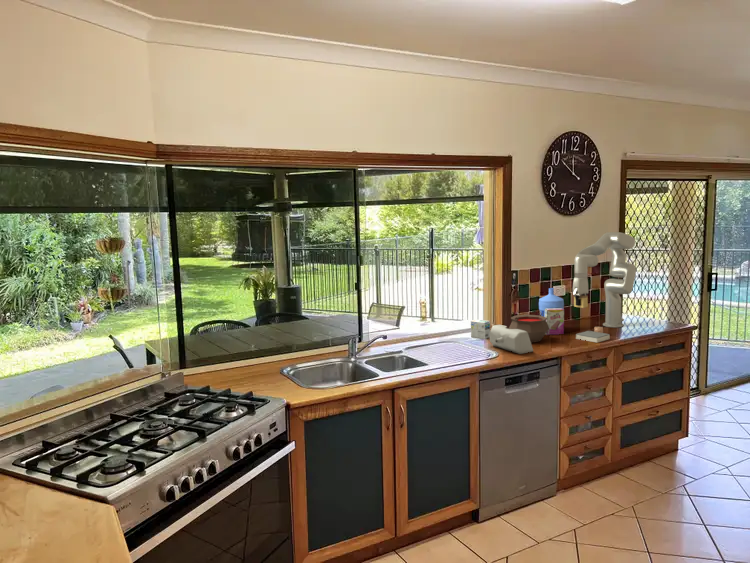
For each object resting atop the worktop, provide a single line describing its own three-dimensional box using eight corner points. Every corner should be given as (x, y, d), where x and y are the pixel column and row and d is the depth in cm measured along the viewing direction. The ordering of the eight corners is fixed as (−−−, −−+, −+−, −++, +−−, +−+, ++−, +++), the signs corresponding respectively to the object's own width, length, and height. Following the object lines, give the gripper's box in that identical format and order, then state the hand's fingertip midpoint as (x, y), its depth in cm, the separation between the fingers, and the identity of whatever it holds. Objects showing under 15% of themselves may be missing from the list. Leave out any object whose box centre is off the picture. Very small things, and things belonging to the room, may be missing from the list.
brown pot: (531, 346, 309) (531, 318, 307) (500, 339, 329) (500, 313, 327) (557, 339, 322) (557, 313, 320) (526, 333, 342) (526, 308, 340)
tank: (483, 347, 312) (482, 326, 311) (504, 343, 319) (504, 323, 318) (511, 356, 290) (511, 334, 288) (533, 352, 297) (533, 330, 295)
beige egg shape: (597, 334, 333) (597, 326, 332) (604, 335, 329) (604, 327, 328) (592, 335, 330) (592, 327, 330) (599, 336, 326) (600, 328, 326)
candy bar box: (546, 335, 335) (546, 309, 333) (544, 333, 340) (544, 308, 338) (564, 334, 335) (564, 309, 333) (562, 333, 340) (562, 307, 338)
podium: (588, 335, 330) (588, 330, 330) (609, 339, 319) (609, 334, 319) (575, 338, 323) (575, 333, 323) (596, 342, 312) (597, 337, 311)
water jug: (558, 327, 356) (558, 286, 352) (567, 332, 340) (567, 289, 337) (535, 328, 355) (535, 287, 352) (543, 333, 340) (543, 290, 336)
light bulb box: (490, 337, 336) (490, 320, 334) (485, 339, 331) (484, 322, 330) (476, 335, 343) (476, 319, 342) (470, 337, 338) (470, 320, 337)
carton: (578, 305, 335) (578, 294, 334) (587, 306, 329) (587, 295, 329) (573, 306, 332) (573, 295, 331) (583, 307, 327) (583, 296, 326)
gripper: (583, 274, 336) (583, 302, 338) (567, 276, 327) (567, 305, 329) (594, 274, 330) (594, 303, 332) (577, 277, 321) (577, 307, 323)
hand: (580, 304), depth 331 cm, fingers closed on carton, 4 cm apart
